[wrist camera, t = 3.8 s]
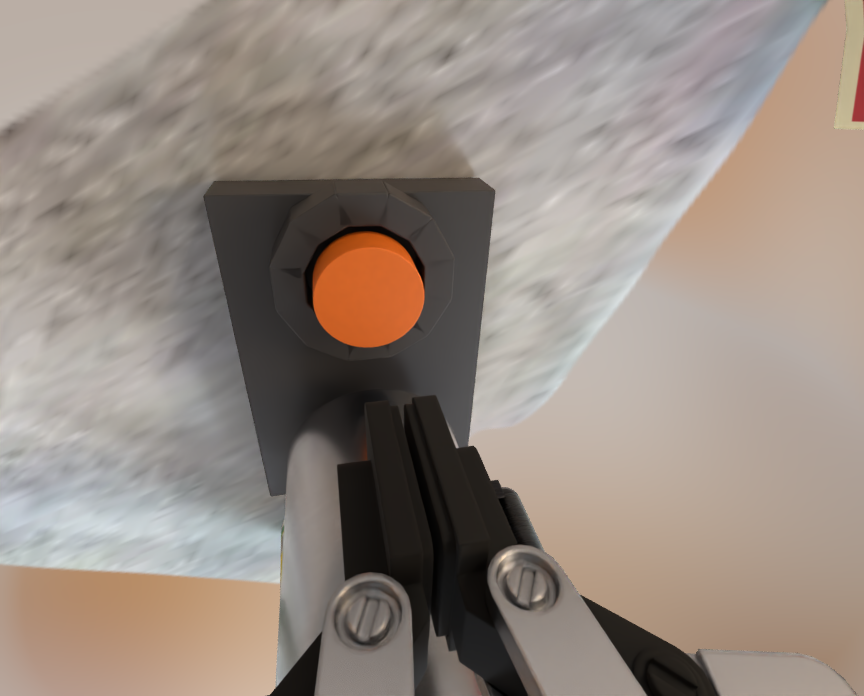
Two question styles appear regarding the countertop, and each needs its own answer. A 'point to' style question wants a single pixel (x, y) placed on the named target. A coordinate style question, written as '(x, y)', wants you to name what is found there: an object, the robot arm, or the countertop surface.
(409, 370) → the push button panel
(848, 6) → the milk carton
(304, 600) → the kettle
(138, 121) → the countertop surface
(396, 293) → the power button
